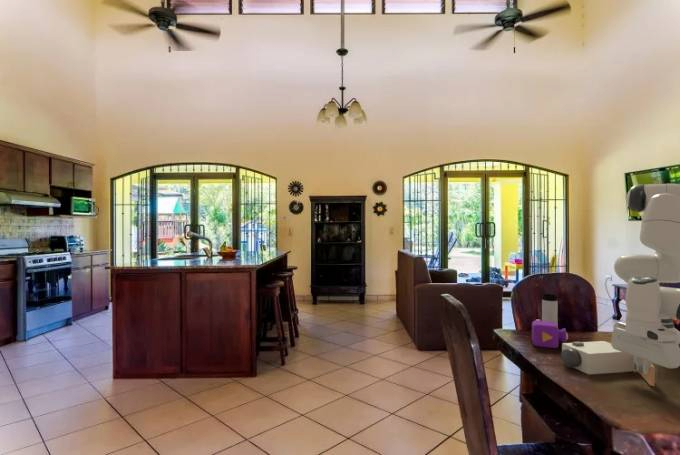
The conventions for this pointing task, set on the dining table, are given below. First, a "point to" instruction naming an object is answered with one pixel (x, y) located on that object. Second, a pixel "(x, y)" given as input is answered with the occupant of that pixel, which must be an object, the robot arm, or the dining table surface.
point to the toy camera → (547, 334)
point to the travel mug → (550, 308)
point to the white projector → (595, 357)
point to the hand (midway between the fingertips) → (642, 372)
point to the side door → (649, 374)
